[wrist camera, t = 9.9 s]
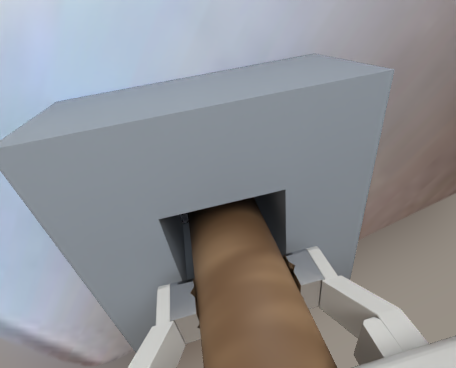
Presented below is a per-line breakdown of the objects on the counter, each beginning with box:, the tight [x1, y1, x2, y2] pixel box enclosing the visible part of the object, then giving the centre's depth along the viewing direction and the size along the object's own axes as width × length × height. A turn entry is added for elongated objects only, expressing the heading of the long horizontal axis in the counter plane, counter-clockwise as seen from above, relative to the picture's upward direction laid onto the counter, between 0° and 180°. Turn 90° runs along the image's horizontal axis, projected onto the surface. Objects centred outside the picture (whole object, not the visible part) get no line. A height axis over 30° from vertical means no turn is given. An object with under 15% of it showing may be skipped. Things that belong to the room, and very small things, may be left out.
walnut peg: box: [188, 197, 337, 368], centre depth 11 cm, size 4×4×10 cm
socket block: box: [0, 54, 394, 353], centre depth 15 cm, size 14×14×6 cm
